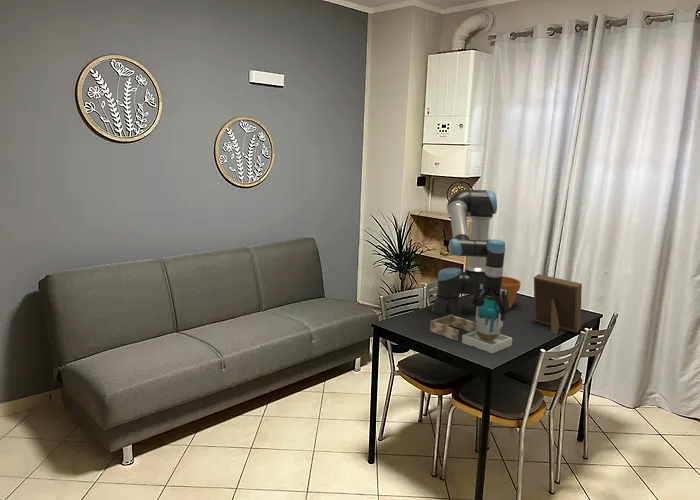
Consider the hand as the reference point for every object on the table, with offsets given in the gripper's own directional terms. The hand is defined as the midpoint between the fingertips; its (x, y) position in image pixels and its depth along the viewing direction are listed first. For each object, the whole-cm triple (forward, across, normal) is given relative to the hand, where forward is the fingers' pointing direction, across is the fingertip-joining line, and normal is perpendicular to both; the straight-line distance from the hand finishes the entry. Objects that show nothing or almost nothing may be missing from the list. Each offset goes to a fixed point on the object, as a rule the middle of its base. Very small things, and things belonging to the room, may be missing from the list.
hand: (488, 323), depth 233 cm
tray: (+9, 0, 0) cm, 9 cm away
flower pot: (+10, -29, +56) cm, 64 cm away
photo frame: (+10, +8, +45) cm, 47 cm away
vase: (+8, 0, 0) cm, 8 cm away
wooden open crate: (+9, -18, 0) cm, 20 cm away
